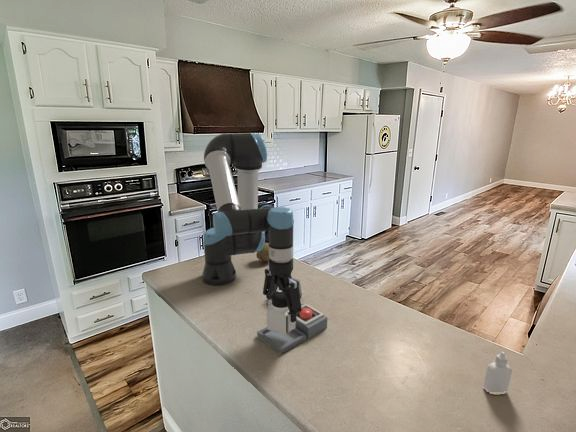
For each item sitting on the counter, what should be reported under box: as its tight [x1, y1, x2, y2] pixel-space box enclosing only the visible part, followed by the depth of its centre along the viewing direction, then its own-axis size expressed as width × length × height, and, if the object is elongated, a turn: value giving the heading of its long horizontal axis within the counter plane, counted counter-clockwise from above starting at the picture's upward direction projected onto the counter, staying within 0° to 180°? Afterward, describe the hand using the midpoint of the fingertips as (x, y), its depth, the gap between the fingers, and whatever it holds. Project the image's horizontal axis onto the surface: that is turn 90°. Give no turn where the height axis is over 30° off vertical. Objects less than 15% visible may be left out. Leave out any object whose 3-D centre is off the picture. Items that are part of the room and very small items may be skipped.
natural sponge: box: [255, 242, 270, 263], centre depth 165 cm, size 9×9×10 cm
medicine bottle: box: [266, 290, 293, 335], centre depth 105 cm, size 7×7×12 cm
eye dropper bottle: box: [483, 351, 513, 392], centre depth 85 cm, size 4×6×12 cm
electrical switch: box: [277, 276, 303, 299], centre depth 132 cm, size 9×5×9 cm, turn 57°
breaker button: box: [299, 308, 312, 321], centre depth 114 cm, size 4×4×4 cm
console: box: [256, 303, 328, 356], centre depth 110 cm, size 12×21×5 cm, turn 131°
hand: (281, 322), depth 106 cm, fingers closed on medicine bottle, 9 cm apart
